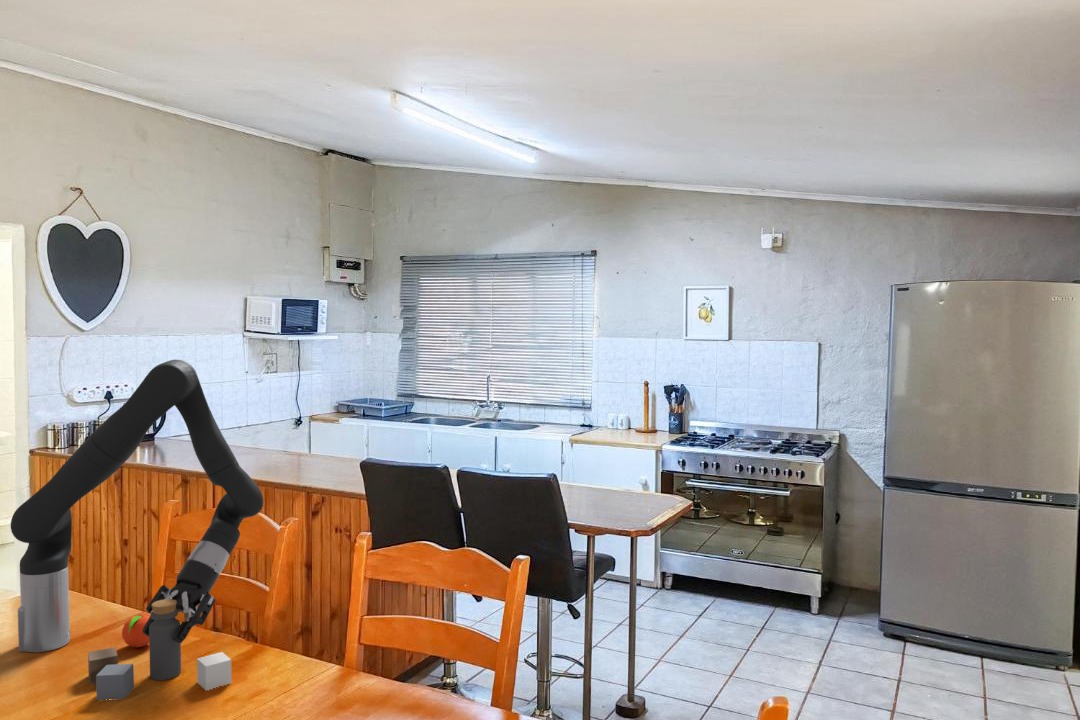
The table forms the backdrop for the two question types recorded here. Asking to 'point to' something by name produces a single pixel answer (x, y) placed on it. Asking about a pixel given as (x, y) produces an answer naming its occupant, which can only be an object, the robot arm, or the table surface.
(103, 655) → the walnut block
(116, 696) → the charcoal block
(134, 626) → the peach
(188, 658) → the table surface
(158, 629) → the bottle
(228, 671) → the offwhite block
